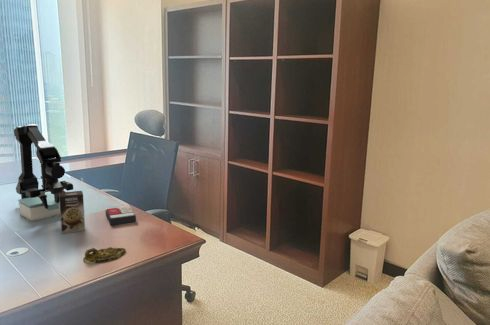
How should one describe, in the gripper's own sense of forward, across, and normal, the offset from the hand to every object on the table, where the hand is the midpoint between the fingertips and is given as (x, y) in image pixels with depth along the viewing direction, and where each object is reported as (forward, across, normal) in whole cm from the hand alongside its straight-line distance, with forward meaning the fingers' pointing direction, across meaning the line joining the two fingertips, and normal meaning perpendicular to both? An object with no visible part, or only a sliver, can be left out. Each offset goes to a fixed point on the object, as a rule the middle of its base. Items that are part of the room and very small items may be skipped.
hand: (51, 207), depth 170 cm
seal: (+6, -4, -51) cm, 52 cm away
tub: (+5, 0, +9) cm, 10 cm away
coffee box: (+5, 0, -19) cm, 20 cm away
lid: (0, 0, +6) cm, 6 cm away
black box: (+6, +21, -22) cm, 31 cm away
